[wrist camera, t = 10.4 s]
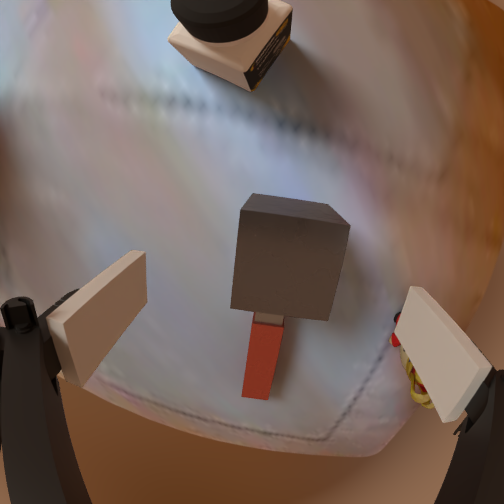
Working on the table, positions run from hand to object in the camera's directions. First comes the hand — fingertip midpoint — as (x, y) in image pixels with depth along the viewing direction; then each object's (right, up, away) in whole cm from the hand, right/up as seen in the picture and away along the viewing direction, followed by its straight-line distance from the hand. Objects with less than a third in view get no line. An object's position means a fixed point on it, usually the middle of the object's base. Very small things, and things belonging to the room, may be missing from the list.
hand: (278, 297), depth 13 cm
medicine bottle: (-2, +21, +9) cm, 23 cm away
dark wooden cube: (+2, +4, +12) cm, 12 cm away
